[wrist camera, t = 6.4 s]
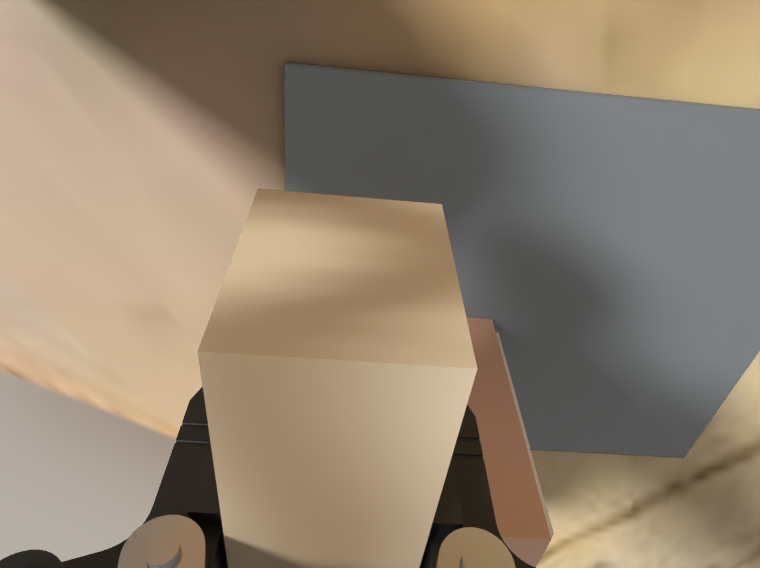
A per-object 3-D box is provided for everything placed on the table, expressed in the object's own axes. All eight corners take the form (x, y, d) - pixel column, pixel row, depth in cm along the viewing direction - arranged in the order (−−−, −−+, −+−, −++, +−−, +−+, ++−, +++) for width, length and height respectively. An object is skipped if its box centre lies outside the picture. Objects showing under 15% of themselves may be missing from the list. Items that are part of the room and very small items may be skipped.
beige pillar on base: (492, 208, 10) (552, 373, 6) (396, 588, 18) (401, 739, 15) (204, 184, 9) (115, 346, 6) (246, 582, 18) (218, 736, 15)
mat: (911, 124, 19) (917, 127, 19) (681, 453, 30) (683, 457, 30) (285, 62, 18) (284, 64, 17) (287, 431, 29) (287, 436, 29)
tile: (498, 319, 24) (561, 539, 16) (464, 434, 29) (499, 647, 21) (443, 315, 24) (477, 535, 16) (418, 431, 29) (435, 645, 21)
